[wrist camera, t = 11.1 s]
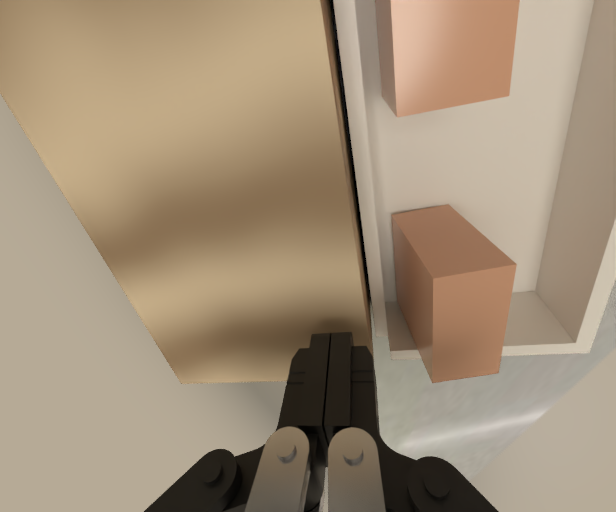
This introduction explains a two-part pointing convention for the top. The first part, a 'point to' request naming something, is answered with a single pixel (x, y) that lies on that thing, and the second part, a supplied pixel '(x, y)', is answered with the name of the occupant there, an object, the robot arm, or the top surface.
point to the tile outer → (451, 292)
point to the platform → (201, 167)
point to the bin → (501, 170)
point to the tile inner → (444, 52)
